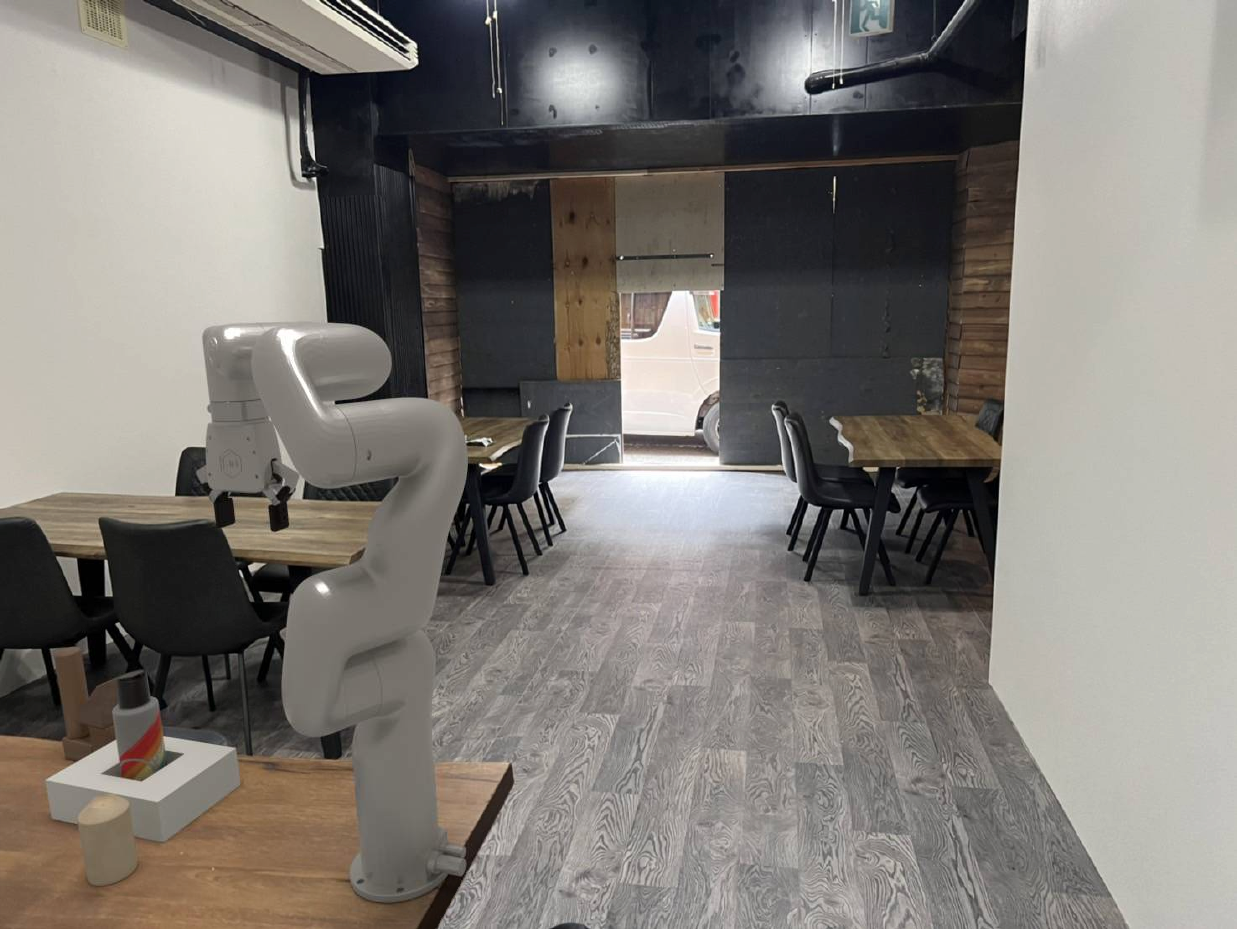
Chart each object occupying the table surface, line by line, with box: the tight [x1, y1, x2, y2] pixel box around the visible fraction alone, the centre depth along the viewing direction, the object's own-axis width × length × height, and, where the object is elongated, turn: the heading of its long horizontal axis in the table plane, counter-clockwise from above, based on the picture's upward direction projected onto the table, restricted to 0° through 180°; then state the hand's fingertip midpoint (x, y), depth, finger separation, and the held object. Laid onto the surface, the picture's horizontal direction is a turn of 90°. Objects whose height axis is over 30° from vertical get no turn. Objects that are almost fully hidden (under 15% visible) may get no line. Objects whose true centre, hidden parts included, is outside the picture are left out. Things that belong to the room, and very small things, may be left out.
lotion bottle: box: [112, 668, 167, 782], centre depth 116 cm, size 6×6×20 cm
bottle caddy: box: [45, 735, 241, 844], centre depth 117 cm, size 20×14×6 cm
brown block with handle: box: [53, 646, 119, 762], centre depth 128 cm, size 4×11×18 cm, turn 67°
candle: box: [77, 794, 139, 887], centre depth 102 cm, size 6×6×10 cm
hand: (252, 527), depth 119 cm, fingers open, 9 cm apart
